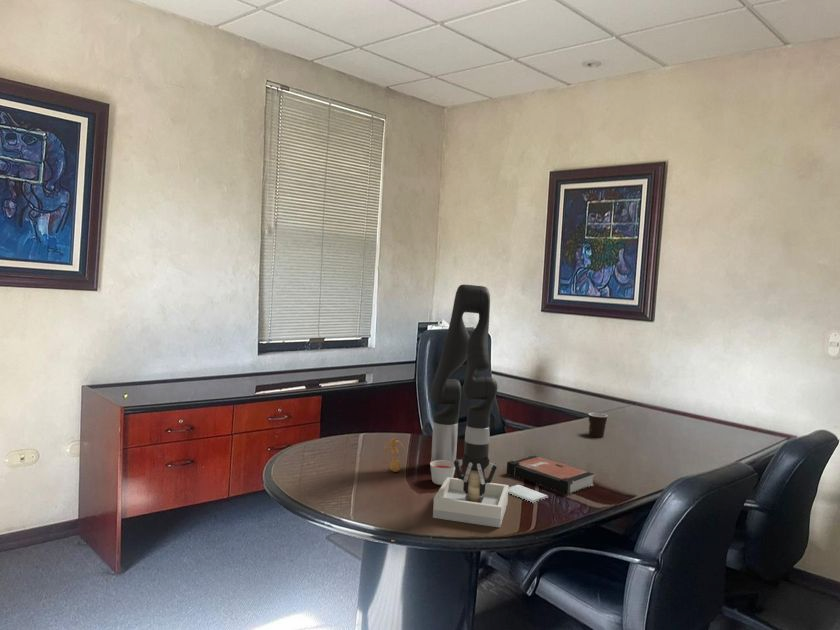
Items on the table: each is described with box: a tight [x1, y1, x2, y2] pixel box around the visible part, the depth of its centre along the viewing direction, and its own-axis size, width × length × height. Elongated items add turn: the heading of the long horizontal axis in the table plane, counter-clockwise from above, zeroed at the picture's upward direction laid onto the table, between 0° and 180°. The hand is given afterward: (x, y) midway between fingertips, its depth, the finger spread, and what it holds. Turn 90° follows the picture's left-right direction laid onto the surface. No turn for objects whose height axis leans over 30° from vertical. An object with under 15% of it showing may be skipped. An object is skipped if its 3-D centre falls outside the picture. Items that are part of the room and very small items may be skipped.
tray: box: [432, 477, 510, 528], centre depth 193 cm, size 20×20×6 cm
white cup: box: [429, 460, 456, 486], centre depth 218 cm, size 9×9×6 cm
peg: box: [467, 470, 481, 503], centre depth 196 cm, size 4×4×10 cm
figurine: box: [383, 437, 406, 473], centre depth 227 cm, size 8×6×12 cm
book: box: [506, 455, 596, 496], centre depth 226 cm, size 26×18×5 cm
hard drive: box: [508, 484, 549, 504], centre depth 209 cm, size 2×8×12 cm
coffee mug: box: [587, 412, 608, 439], centre depth 294 cm, size 12×9×10 cm
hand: (473, 493), depth 196 cm, fingers closed on peg, 4 cm apart
